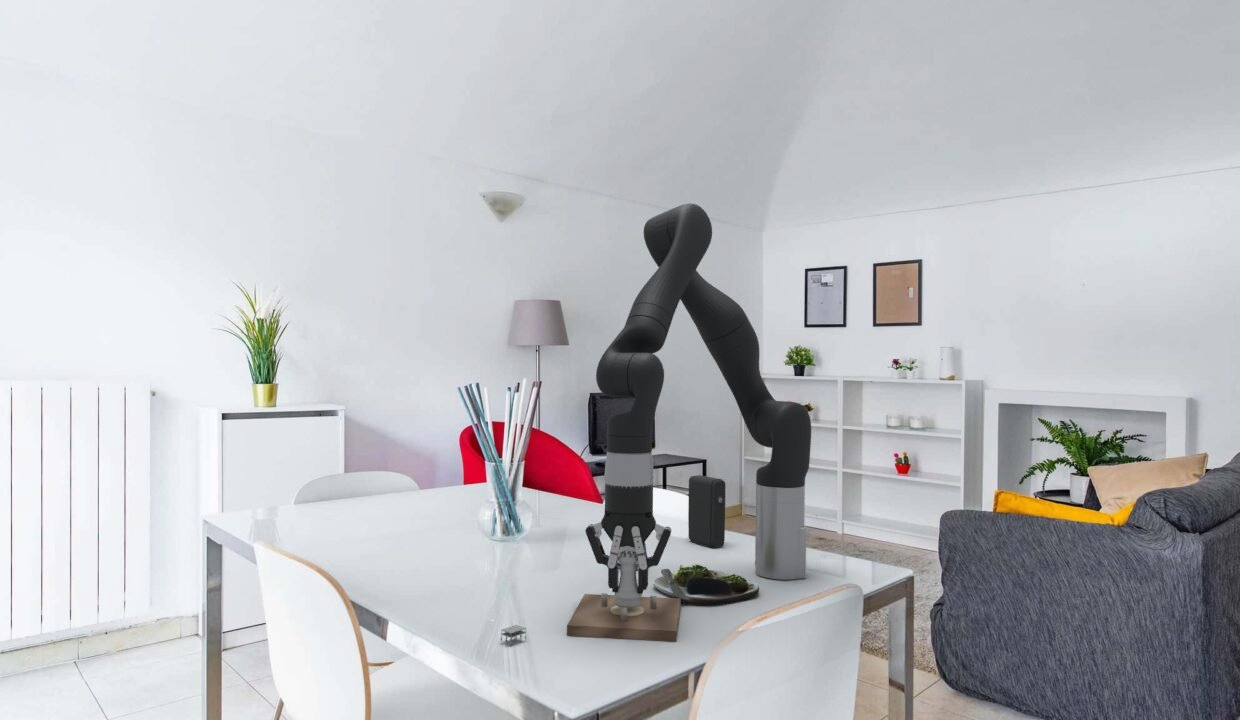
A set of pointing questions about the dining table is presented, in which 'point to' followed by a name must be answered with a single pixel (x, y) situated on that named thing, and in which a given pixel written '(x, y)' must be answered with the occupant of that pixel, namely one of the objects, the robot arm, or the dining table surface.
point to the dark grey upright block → (706, 511)
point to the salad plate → (705, 586)
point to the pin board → (626, 618)
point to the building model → (513, 633)
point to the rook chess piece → (628, 582)
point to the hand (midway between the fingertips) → (627, 591)
